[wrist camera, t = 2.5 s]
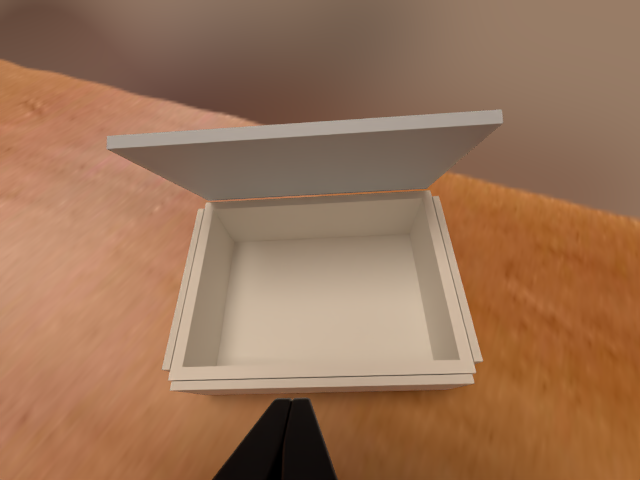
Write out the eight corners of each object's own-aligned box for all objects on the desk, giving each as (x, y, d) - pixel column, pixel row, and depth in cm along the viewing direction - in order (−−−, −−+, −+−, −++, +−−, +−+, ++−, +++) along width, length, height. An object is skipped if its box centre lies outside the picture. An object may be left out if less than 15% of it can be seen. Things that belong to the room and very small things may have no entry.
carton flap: (503, 122, 11) (501, 109, 11) (106, 149, 11) (106, 136, 11) (426, 188, 19) (425, 180, 20) (208, 200, 20) (208, 193, 20)
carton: (454, 390, 18) (488, 383, 14) (199, 395, 19) (157, 390, 15) (420, 230, 24) (437, 190, 20) (224, 239, 25) (199, 202, 21)
